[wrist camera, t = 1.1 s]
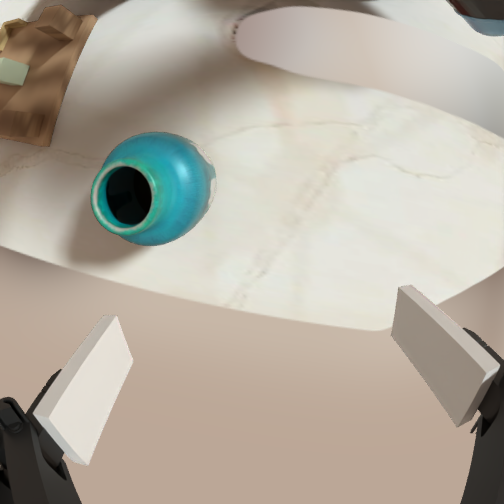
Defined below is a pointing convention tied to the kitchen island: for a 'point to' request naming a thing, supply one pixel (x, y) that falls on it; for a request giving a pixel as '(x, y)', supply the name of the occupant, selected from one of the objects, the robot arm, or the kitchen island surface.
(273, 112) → the kitchen island surface
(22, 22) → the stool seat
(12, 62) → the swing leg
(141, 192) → the vase
